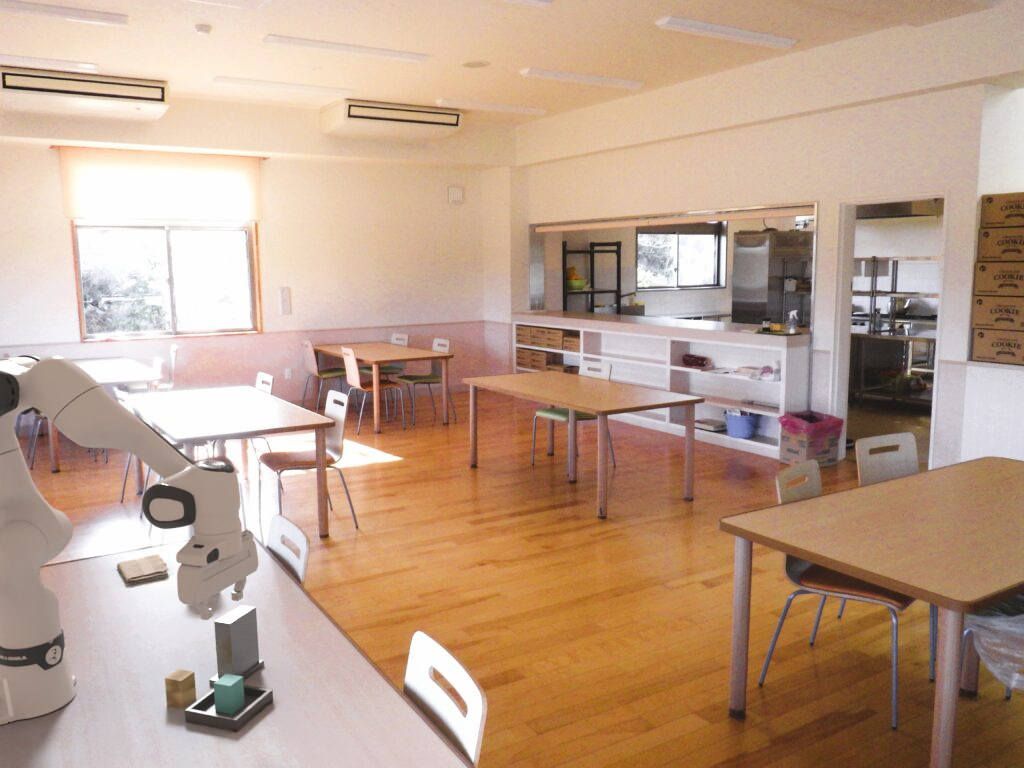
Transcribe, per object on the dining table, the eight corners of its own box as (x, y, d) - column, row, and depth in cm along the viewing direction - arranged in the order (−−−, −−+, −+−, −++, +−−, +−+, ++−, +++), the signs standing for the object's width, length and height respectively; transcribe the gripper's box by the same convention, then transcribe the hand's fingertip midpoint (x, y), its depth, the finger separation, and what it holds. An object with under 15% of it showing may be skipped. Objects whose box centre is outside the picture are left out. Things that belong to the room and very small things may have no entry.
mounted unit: (209, 684, 178) (205, 622, 175) (241, 661, 188) (237, 602, 186) (233, 689, 176) (229, 626, 174) (264, 665, 186) (260, 605, 184)
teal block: (215, 711, 166) (213, 683, 165) (228, 701, 169) (226, 673, 169) (232, 714, 164) (230, 686, 164) (244, 704, 168) (242, 676, 167)
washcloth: (127, 588, 232) (126, 578, 232) (115, 569, 247) (114, 559, 246) (172, 578, 239) (171, 568, 239) (157, 561, 254) (157, 551, 253)
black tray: (185, 721, 163) (184, 710, 163) (224, 692, 175) (223, 680, 174) (236, 732, 160) (235, 720, 159) (273, 701, 171) (272, 689, 170)
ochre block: (166, 705, 170) (164, 678, 169) (180, 695, 173) (178, 669, 172) (182, 708, 168) (180, 681, 167) (196, 698, 172) (194, 671, 171)
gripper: (238, 524, 173) (242, 587, 176) (169, 557, 154) (173, 627, 156) (264, 527, 171) (267, 591, 174) (197, 561, 152) (201, 632, 154)
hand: (222, 608), depth 165 cm, fingers open, 8 cm apart
